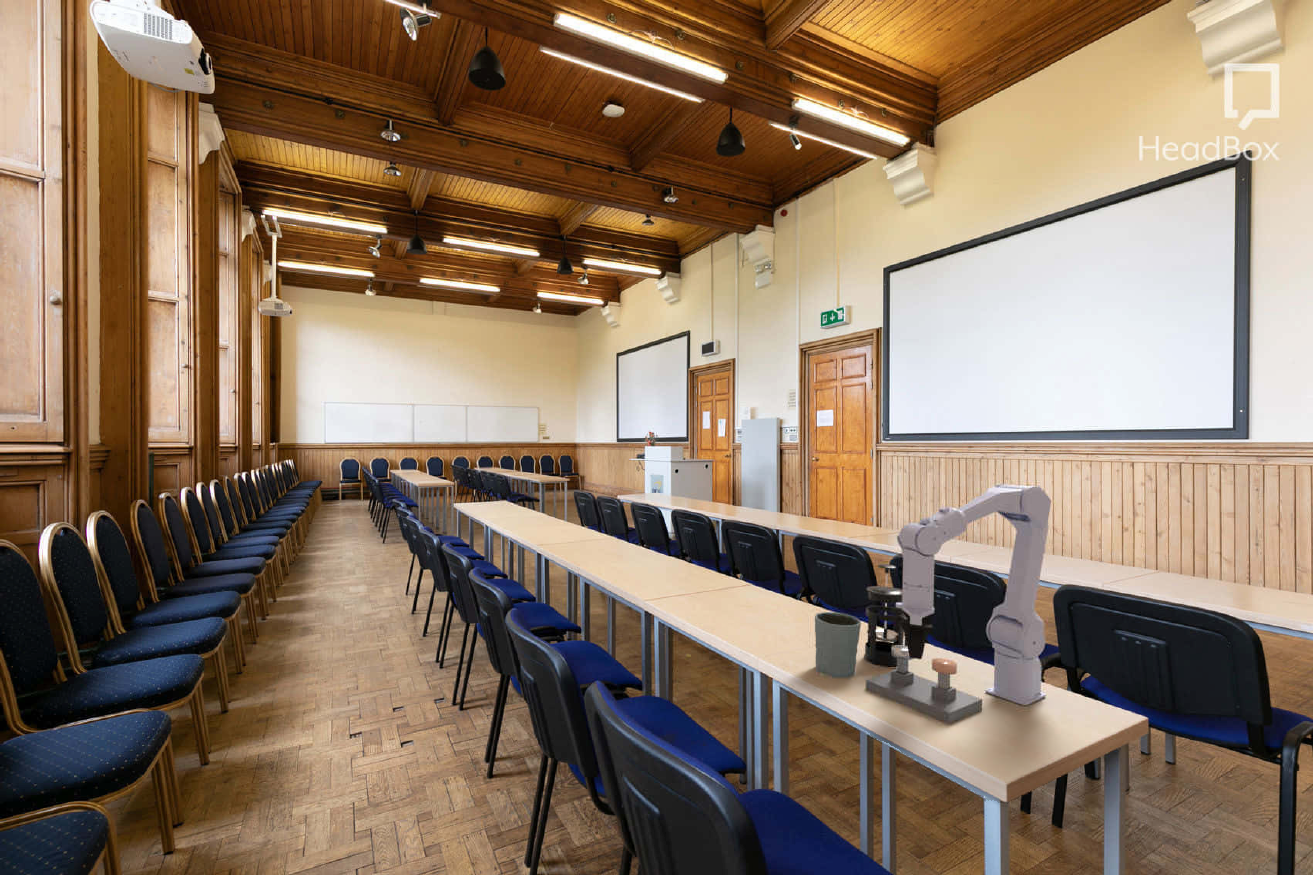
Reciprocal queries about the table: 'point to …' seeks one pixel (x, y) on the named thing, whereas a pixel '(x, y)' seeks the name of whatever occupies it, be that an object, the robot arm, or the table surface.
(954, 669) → the peach knob
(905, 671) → the steel plunger
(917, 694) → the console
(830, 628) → the grey green cup
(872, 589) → the french press
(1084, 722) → the table surface
